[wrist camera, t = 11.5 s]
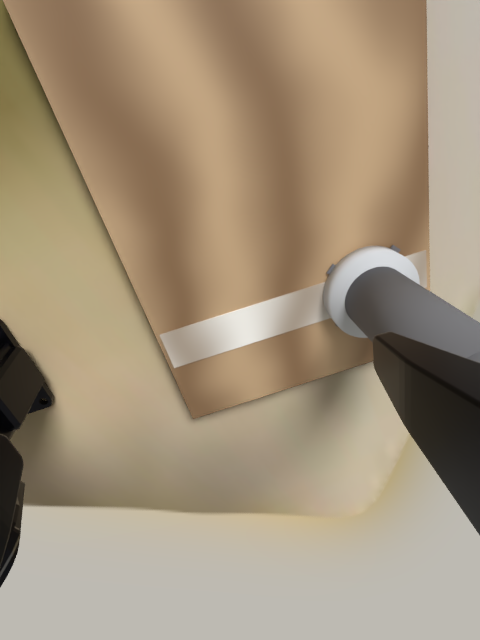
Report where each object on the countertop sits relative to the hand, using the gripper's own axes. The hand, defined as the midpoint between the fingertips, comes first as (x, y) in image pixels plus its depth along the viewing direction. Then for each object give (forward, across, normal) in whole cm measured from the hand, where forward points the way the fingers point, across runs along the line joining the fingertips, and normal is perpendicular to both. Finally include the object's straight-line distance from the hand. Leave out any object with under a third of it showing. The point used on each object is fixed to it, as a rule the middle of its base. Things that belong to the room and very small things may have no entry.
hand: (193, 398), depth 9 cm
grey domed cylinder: (+12, -9, +5) cm, 16 cm away
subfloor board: (+13, -5, -1) cm, 14 cm away
